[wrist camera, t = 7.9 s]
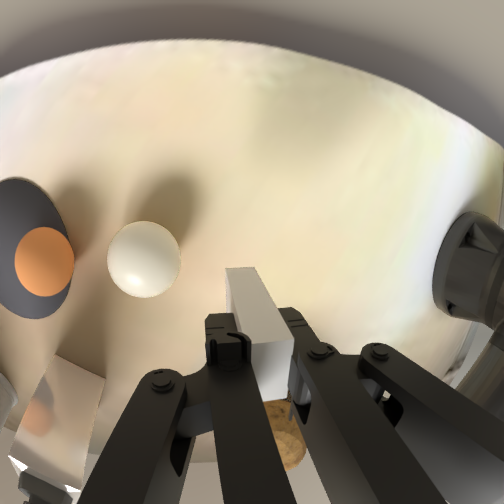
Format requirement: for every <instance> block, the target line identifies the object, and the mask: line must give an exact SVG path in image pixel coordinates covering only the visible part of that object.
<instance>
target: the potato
mask: <svg viewBox="0 0 504 504" xmlns="http://www.w3.org/2000/svg"><path fill="white" fill-rule="evenodd" d="M263 403H264V407H265V410H266V413H267V416H268V419H269V422H270V426H271V429H272V432H273V435H274V438H275V441H276V444H277V447H278V450H279V453H280V456H281V459H282V462H283V465H284V468H285V471H288V470H290V469H292V468H294V467H296V466H297V465H298V464H299V463H300V462H301V460H302V459H303V457H304V455H305V453H306V448H307V446H306V444H305V441H304V439H303V436H302V434H301V431H300V429H299V427H298V424H297V422H296V419H295V417H294V414H293V417H292V421H289V417H288V416H289V410H290V404H291V403H290V402H287V401H283V400H280V399H277V400H271V401H263Z"/></svg>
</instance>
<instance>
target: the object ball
mask: <svg viewBox="0 0 504 504" xmlns="http://www.w3.org/2000/svg"><path fill="white" fill-rule="evenodd" d="M15 269H16V273H17V276H18V278H19V280H20V282H21V283H22V285H23V286H24V287H25V288H26V289H27V290H28V291H29V292H31V293H33V294H35V295H38V296H52V295H55V294H57V293H59V292H60V291H61V290H63V289H64V288H65V287H66V285H67V284H68V282H69V281H70V279H71V276H72V274H73V269H74V255H73V251H72V248H71V246H70V244H69V242H68V240H67V239H66V238H65V236H64V235H63V234H61V233H60V232H59V231H57V230H55V229H53V228H49V227H39V228H35V229H33V230H31V231H30V232H28V233H27V234H26V235H25V236H24V237H23V238H22V239H21V241H20V242H19V244H18V247H17V249H16V253H15Z"/></svg>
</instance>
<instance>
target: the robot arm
mask: <svg viewBox="0 0 504 504" xmlns="http://www.w3.org/2000/svg"><path fill="white" fill-rule="evenodd" d="M225 273H226V313H218V314H209V315H208V317H207V318H206V320H205V334H206V343H205V348H206V358H207V362H206V364H205V366H204V367H203V368H202V369H201V370H199V371H198V372H196V373H193V374H190V375H187V376H182V375H181V374H180V373H178V372H177V371H174V370H171V369H157V370H153V371H151V372H149V373H147V374H145V376H144V377H143V378H142V379H141V381H140V382H139V384H138V386H137V388H136V389H135V391H134V393H133V395H132V397H131V399H130V400H129V402H128V404H127V406H126V408H125V409H124V411H123V413H122V415H121V417H120V419H119V421H118V422H117V424H116V426H115V428H114V430H113V432H112V434H111V436H110V438H109V439H108V441H107V443H106V445H105V447H104V449H103V451H102V453H101V455H100V457H99V459H98V461H97V463H96V465H95V467H94V469H93V471H92V473H91V475H90V477H89V479H88V481H87V483H86V485H85V487H84V489H83V491H82V493H81V495H80V497H79V499H78V501H77V504H179V501H180V497H181V493H182V489H183V485H184V481H185V477H186V474H187V470H188V466H189V462H190V458H191V455H192V451H193V447H194V443H195V439H196V436H197V435H200V434H203V433H206V432H209V431H212V430H214V438H215V446H216V454H217V461H218V468H219V475H220V482H221V488H222V494H223V500H224V504H297V503H296V500H295V497H294V494H293V491H292V488H291V486H290V483H289V480H288V477H287V474H286V471H285V468H284V465H283V462H282V459H281V456H280V453H279V450H278V447H277V444H276V441H275V438H274V435H273V432H272V429H271V426H270V422H269V419H268V416H267V413H266V410H265V407H264V403H263V401H271V400H277V399H284V398H287V392H288V389H289V391H290V393H291V396H292V399H291V404H290V410H289V416H288V417H289V421H292V417H293V414H294V417H295V419H296V422H297V424H298V427H299V429H300V431H301V434H302V436H303V439H304V441H305V444H306V446H307V448H308V451H309V453H310V456H311V458H312V460H313V462H314V465H315V467H316V470H317V472H318V475H319V477H320V479H321V482H322V484H323V486H324V488H325V491H326V493H327V495H328V498H329V500H330V502H331V504H448V503H447V502H446V501H448V502H449V503H450V504H504V230H503V229H502V228H500V227H499V226H498V225H497V224H496V223H494V222H493V221H492V220H491V219H490V218H488V217H487V216H485V215H482V214H479V213H475V212H467V213H465V214H463V215H462V216H461V217H459V218H458V219H457V221H456V222H455V223H454V224H453V226H452V227H451V229H450V230H449V232H448V234H447V235H446V237H445V239H444V242H443V244H442V246H441V249H440V252H439V255H438V258H437V261H436V265H435V270H434V275H433V285H432V291H433V298H434V302H435V304H436V306H437V307H438V308H439V309H440V310H442V311H443V312H444V313H446V314H447V315H449V316H451V317H455V318H460V319H465V320H470V321H475V322H480V323H483V324H485V325H487V326H488V327H489V328H491V329H492V330H494V333H493V335H492V336H491V338H490V340H489V342H488V343H487V345H486V346H485V348H484V350H483V351H482V353H481V354H480V356H479V357H478V359H477V360H476V362H475V363H474V364H473V366H472V367H471V369H470V370H469V371H468V373H467V374H466V376H465V377H464V378H463V380H462V381H461V382H460V384H459V385H458V386H457V388H456V389H453V388H452V387H450V386H449V385H447V384H446V383H444V382H443V381H441V380H440V379H438V378H437V377H435V376H434V375H432V374H431V373H429V372H428V371H426V370H425V369H423V368H422V367H420V366H419V365H418V364H416V363H415V362H413V361H412V360H410V359H409V358H407V357H406V356H404V355H403V354H401V353H400V352H398V351H397V350H395V349H394V348H392V347H390V346H388V345H386V344H382V343H370V344H367V345H365V346H364V347H363V348H362V351H361V354H360V355H344V354H340V353H339V352H338V350H337V349H336V348H335V347H333V346H332V345H330V344H328V343H324V342H320V340H319V339H318V338H317V336H316V335H315V333H314V332H313V330H312V329H311V327H310V326H308V323H307V322H306V320H305V319H304V317H303V316H302V314H301V313H300V312H299V311H297V310H295V309H294V308H292V307H288V308H277V307H276V305H275V303H274V302H273V300H272V298H271V296H270V294H269V293H268V291H267V289H266V287H265V285H264V284H263V282H262V280H261V278H260V276H259V275H258V273H257V271H256V269H255V267H244V268H225ZM385 390H386V391H387V392H388V393H390V394H391V395H390V397H389V399H388V398H385V397H383V394H384V391H385ZM445 500H446V501H445Z"/></svg>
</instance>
